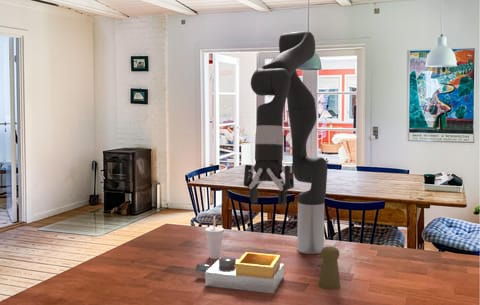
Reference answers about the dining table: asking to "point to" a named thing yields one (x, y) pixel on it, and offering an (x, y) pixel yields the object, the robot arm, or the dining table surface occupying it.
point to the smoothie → (214, 240)
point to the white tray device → (245, 272)
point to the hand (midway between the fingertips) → (267, 204)
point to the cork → (329, 268)
